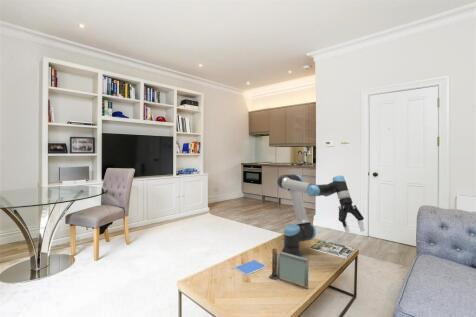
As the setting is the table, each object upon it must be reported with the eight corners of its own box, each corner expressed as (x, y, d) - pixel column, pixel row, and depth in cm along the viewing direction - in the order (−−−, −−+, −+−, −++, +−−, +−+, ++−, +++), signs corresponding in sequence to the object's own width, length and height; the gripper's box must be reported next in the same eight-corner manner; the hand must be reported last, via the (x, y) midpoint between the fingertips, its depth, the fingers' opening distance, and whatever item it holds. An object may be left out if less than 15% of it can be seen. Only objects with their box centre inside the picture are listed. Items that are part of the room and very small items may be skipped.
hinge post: (269, 277, 151) (269, 249, 151) (272, 274, 156) (273, 247, 155) (276, 280, 149) (276, 251, 148) (279, 276, 153) (280, 249, 152)
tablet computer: (254, 261, 176) (254, 259, 176) (266, 267, 166) (266, 265, 166) (234, 269, 163) (234, 267, 163) (246, 276, 154) (246, 274, 153)
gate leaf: (276, 276, 150) (276, 252, 149) (278, 275, 152) (278, 251, 152) (307, 287, 139) (307, 260, 138) (308, 285, 141) (309, 259, 140)
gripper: (335, 196, 148) (346, 231, 139) (362, 196, 158) (374, 229, 150) (326, 200, 154) (336, 234, 145) (353, 200, 164) (363, 231, 156)
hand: (355, 231), depth 147 cm, fingers open, 13 cm apart
